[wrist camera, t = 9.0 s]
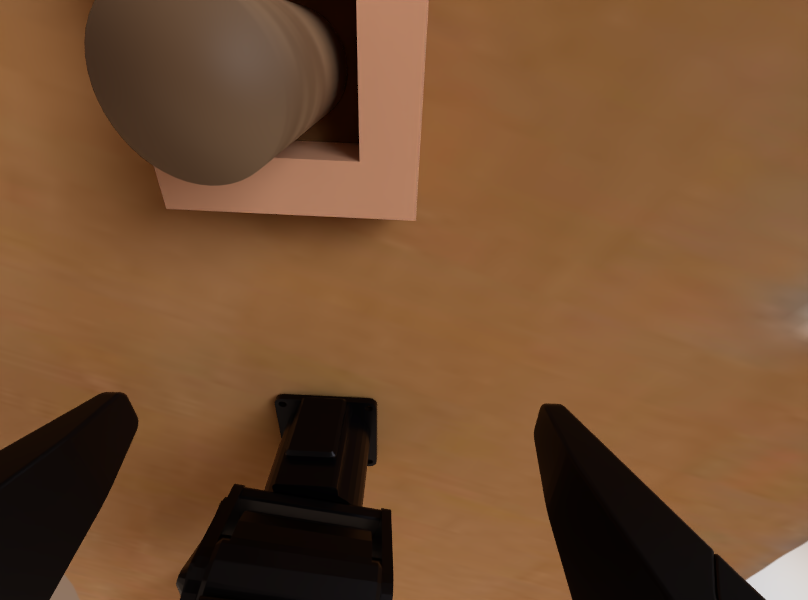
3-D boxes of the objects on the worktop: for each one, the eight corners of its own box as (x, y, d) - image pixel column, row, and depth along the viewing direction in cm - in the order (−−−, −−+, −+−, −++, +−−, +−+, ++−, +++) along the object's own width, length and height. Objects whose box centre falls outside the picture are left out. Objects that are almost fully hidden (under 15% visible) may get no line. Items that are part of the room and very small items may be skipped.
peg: (349, 122, 17) (295, 189, 9) (254, 118, 17) (124, 181, 9) (345, 5, 15) (270, -31, 7) (236, 0, 15) (48, -41, 7)
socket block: (416, 196, 19) (415, 221, 16) (200, 185, 19) (166, 208, 16) (433, -104, 13) (436, -138, 11) (127, -118, 13) (58, -155, 11)
